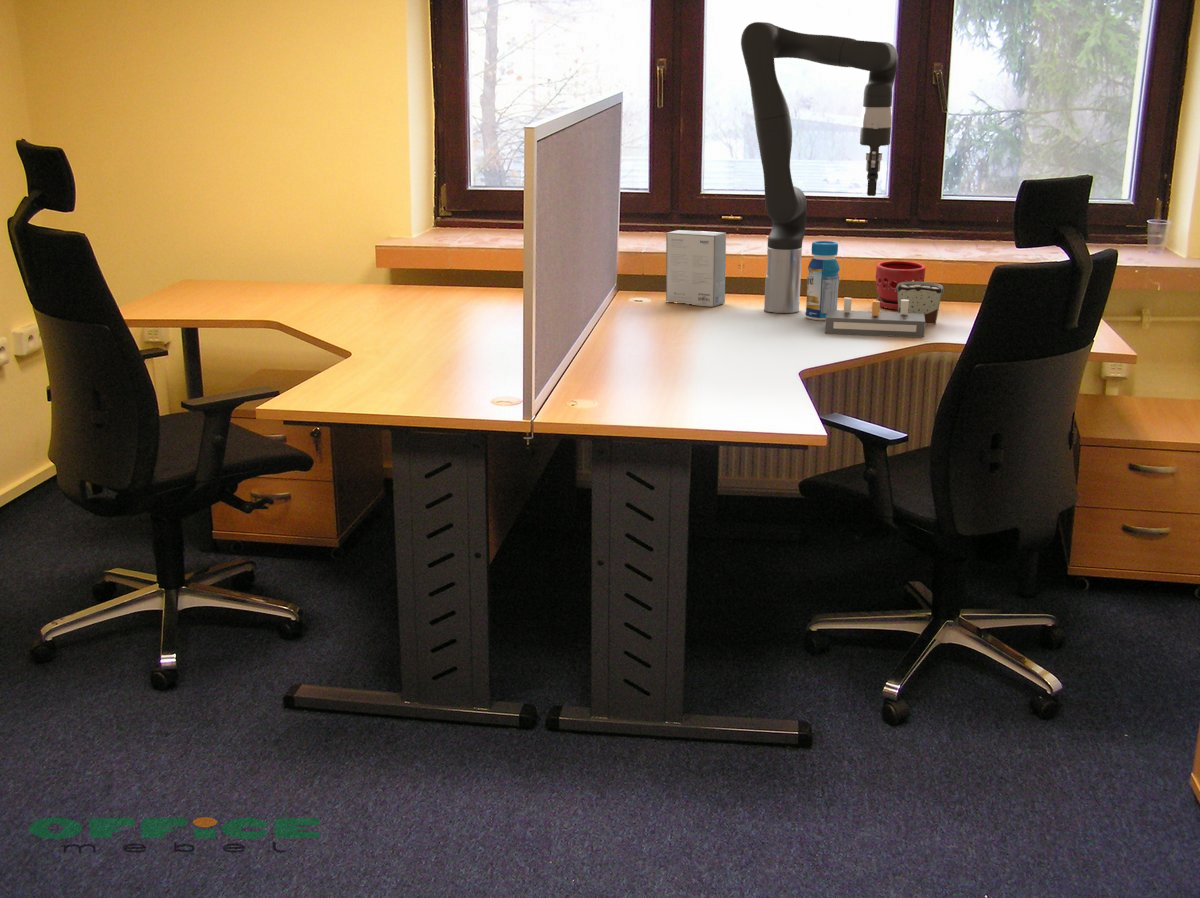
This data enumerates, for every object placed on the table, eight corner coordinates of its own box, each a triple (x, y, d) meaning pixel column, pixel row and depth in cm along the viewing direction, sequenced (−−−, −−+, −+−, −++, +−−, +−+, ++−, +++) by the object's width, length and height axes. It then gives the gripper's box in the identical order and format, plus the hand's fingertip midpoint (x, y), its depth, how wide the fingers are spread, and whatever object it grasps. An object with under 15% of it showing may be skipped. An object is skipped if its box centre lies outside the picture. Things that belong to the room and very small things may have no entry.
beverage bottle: (835, 321, 306) (839, 245, 299) (802, 320, 308) (806, 244, 302) (838, 315, 313) (843, 240, 307) (807, 314, 316) (810, 239, 309)
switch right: (900, 314, 293) (901, 300, 292) (900, 313, 294) (901, 299, 293) (907, 314, 293) (908, 300, 292) (907, 313, 294) (908, 299, 293)
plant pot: (864, 307, 324) (866, 264, 320) (892, 300, 332) (895, 258, 329) (904, 314, 315) (907, 269, 311) (931, 307, 323) (935, 264, 319)
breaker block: (824, 333, 292) (825, 317, 291) (826, 325, 302) (827, 309, 301) (923, 337, 287) (925, 321, 286) (922, 329, 296) (924, 313, 295)
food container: (943, 320, 307) (946, 282, 304) (941, 324, 301) (944, 286, 298) (895, 317, 311) (897, 280, 308) (892, 322, 305) (895, 284, 302)
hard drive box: (725, 303, 331) (727, 232, 324) (713, 308, 324) (715, 235, 318) (677, 298, 339) (678, 228, 332) (664, 302, 332) (665, 232, 326)
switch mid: (871, 315, 292) (872, 301, 291) (871, 314, 293) (872, 300, 292) (879, 315, 291) (879, 301, 290) (879, 314, 293) (880, 300, 292)
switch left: (843, 312, 296) (844, 298, 295) (843, 311, 297) (844, 297, 296) (850, 312, 296) (851, 298, 295) (850, 311, 297) (851, 297, 296)
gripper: (861, 124, 302) (857, 192, 307) (860, 126, 289) (855, 198, 295) (891, 124, 300) (886, 193, 305) (891, 127, 288) (886, 198, 293)
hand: (871, 195), depth 300 cm, fingers closed
